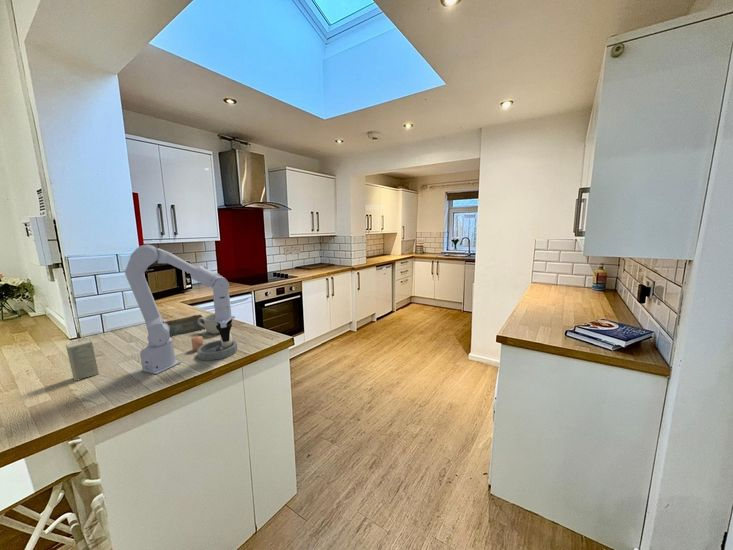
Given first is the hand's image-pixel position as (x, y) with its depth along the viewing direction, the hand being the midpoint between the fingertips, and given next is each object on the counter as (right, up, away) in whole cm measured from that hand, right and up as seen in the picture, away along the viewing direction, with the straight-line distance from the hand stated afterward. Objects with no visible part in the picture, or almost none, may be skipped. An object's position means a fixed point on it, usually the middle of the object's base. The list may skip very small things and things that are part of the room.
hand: (226, 339), depth 118 cm
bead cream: (0, -3, +1) cm, 3 cm away
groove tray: (-3, -5, -1) cm, 6 cm away
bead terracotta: (-13, -5, +3) cm, 14 cm away
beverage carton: (-34, -2, +26) cm, 43 cm away
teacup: (-17, -2, +24) cm, 29 cm away
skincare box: (-40, -9, -17) cm, 45 cm away
